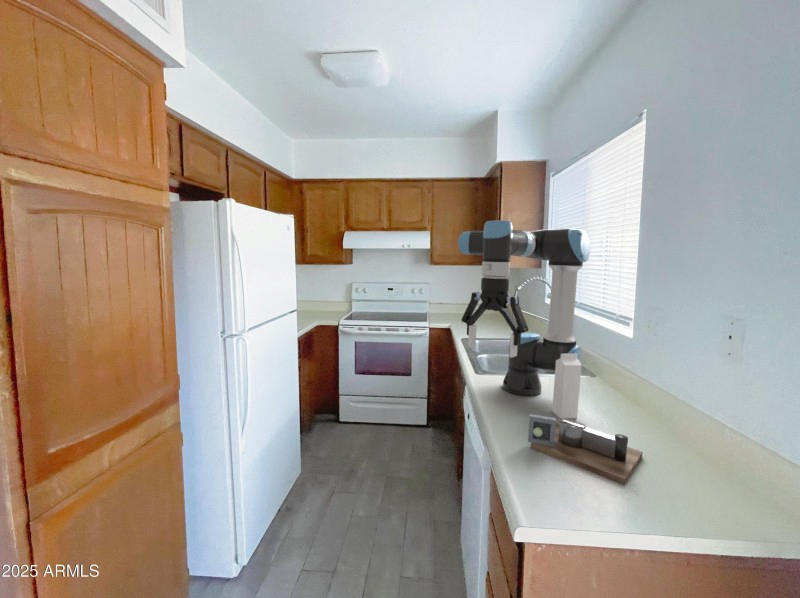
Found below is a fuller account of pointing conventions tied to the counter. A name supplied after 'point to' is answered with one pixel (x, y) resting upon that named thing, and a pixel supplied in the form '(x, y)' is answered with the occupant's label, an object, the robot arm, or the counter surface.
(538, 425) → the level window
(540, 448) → the stand board
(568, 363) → the milk
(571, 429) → the crank handle
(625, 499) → the counter surface
